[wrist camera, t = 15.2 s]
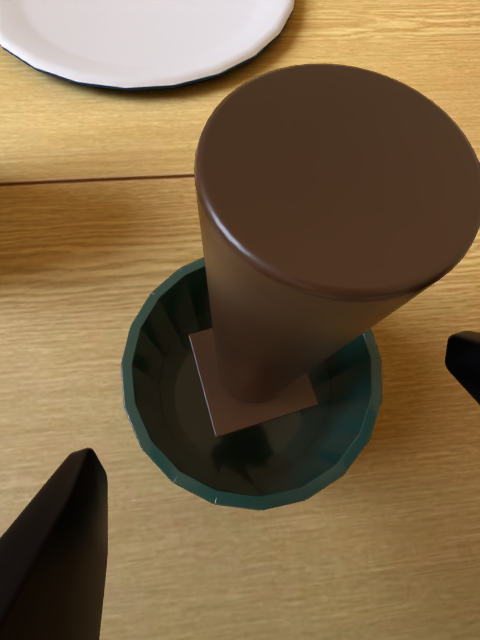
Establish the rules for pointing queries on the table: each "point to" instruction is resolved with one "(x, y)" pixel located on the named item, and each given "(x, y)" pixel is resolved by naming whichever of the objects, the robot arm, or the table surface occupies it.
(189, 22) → the plate
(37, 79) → the table surface
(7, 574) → the robot arm
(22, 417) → the table surface
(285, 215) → the brown stamp
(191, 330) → the green and tan cup
